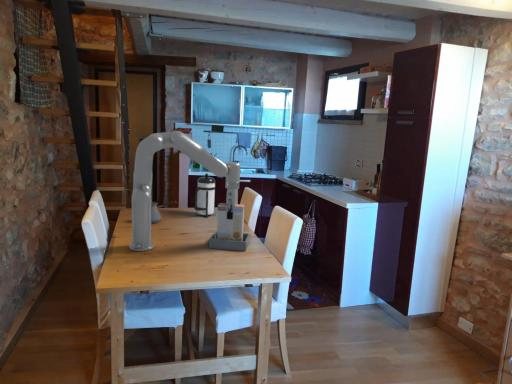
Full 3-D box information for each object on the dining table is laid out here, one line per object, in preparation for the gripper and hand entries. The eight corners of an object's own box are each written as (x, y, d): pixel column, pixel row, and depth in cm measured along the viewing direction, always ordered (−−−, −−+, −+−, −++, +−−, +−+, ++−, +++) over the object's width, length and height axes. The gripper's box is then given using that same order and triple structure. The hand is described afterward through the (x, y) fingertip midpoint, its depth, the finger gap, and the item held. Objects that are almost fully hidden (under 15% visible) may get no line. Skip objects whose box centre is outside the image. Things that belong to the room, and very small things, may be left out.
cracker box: (242, 240, 223) (244, 204, 220) (241, 243, 218) (243, 206, 214) (218, 238, 225) (219, 202, 221) (216, 241, 219) (217, 204, 215)
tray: (245, 251, 213) (246, 242, 212) (208, 247, 215) (209, 238, 214) (249, 242, 228) (249, 233, 227) (215, 239, 230) (215, 230, 229)
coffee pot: (141, 223, 253) (141, 200, 251) (145, 219, 265) (146, 197, 262) (174, 225, 254) (175, 202, 251) (178, 221, 265) (178, 199, 262)
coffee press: (192, 212, 290) (193, 171, 285) (214, 212, 293) (216, 172, 288) (193, 218, 273) (194, 175, 268) (216, 218, 276) (218, 176, 271)
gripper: (236, 188, 207) (234, 222, 210) (241, 183, 223) (239, 214, 227) (222, 187, 207) (220, 220, 211) (228, 182, 224) (226, 213, 227)
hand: (230, 217), depth 219 cm, fingers closed on cracker box, 5 cm apart
